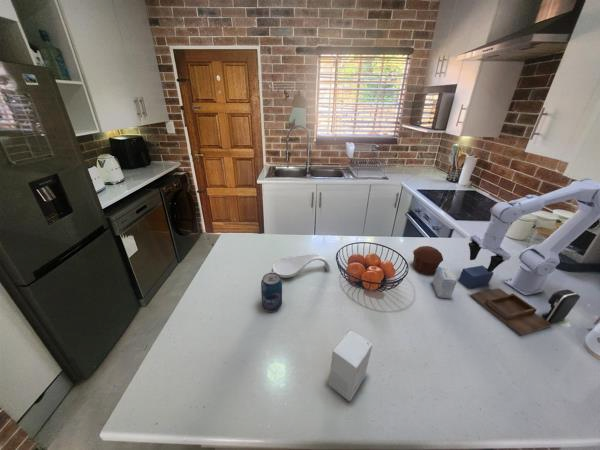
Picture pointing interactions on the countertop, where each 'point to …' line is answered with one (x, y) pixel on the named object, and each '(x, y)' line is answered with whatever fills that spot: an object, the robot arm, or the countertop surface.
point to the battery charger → (560, 305)
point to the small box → (349, 364)
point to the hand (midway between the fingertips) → (480, 265)
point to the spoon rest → (296, 264)
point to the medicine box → (444, 282)
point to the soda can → (271, 292)
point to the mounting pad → (511, 311)
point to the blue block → (475, 277)
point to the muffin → (426, 259)
